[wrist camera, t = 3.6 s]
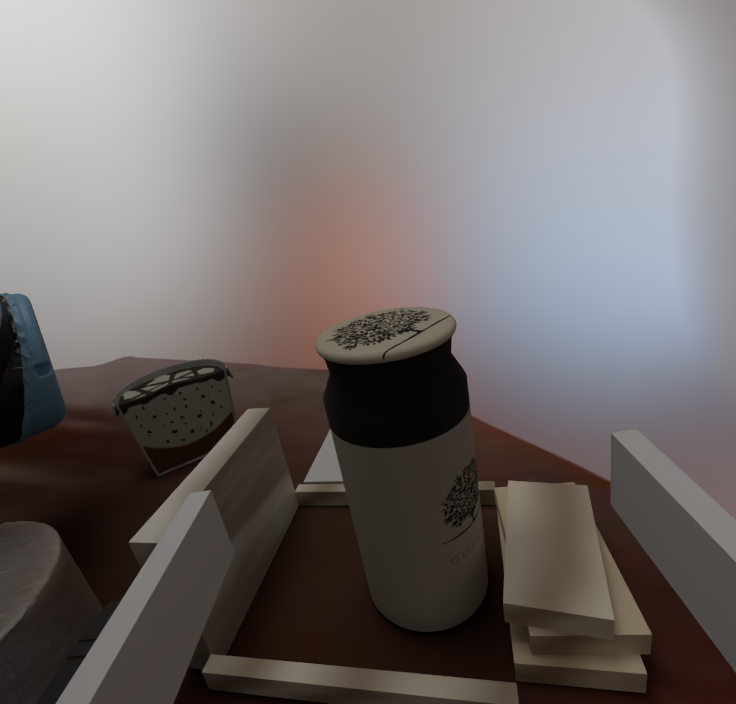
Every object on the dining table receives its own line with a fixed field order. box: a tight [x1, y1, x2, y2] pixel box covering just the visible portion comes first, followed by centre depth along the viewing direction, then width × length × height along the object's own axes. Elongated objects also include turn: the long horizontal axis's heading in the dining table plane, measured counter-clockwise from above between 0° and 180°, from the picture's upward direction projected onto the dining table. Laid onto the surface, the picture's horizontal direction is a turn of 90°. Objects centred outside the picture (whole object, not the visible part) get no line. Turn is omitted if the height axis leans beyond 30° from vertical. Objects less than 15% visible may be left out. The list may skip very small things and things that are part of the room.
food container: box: [113, 359, 236, 477], centre depth 50 cm, size 12×6×10 cm, turn 119°
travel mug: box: [315, 307, 488, 632], centre depth 26 cm, size 8×8×18 cm
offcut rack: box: [129, 408, 652, 704], centre depth 27 cm, size 26×16×10 cm, turn 78°
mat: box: [304, 429, 344, 484], centre depth 43 cm, size 10×10×1 cm
